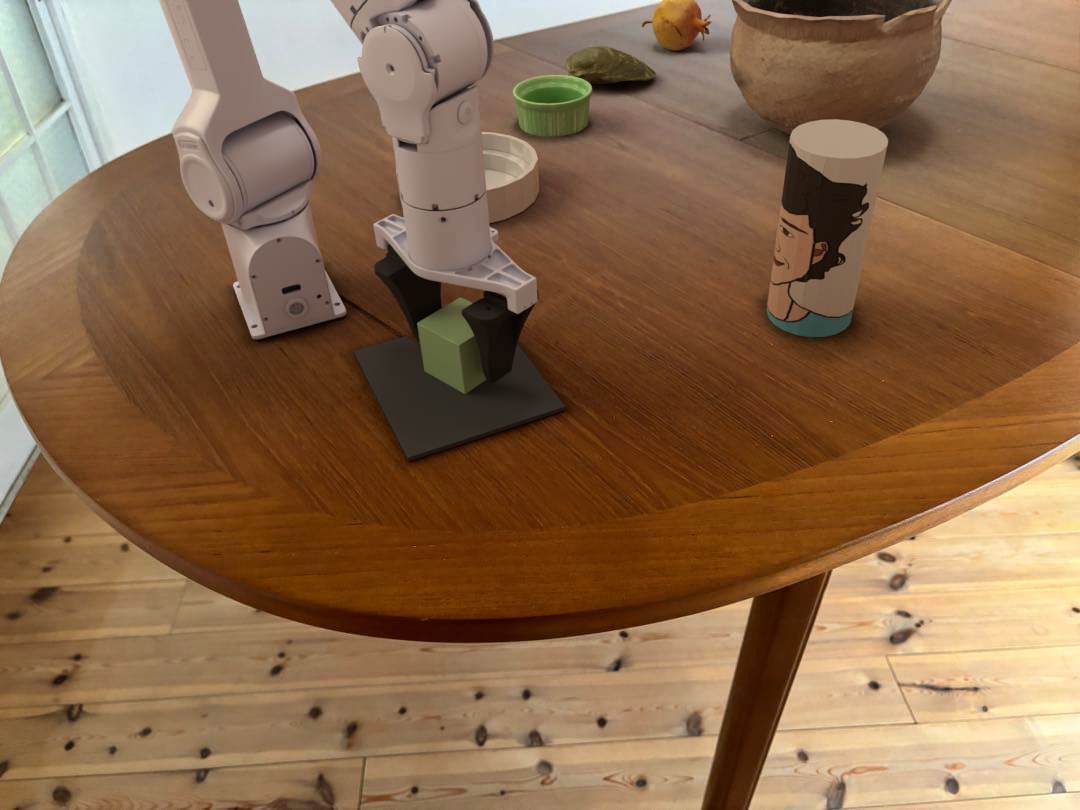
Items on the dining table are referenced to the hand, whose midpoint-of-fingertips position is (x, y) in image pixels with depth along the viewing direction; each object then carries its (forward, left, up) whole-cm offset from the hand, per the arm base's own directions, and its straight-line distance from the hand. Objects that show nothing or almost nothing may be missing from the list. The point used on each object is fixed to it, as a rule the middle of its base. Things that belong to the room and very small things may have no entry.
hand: (463, 355), depth 70 cm
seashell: (+48, -38, -2) cm, 62 cm away
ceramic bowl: (+24, -52, -2) cm, 57 cm away
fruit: (+55, -52, -2) cm, 76 cm away
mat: (-1, +1, -2) cm, 2 cm away
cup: (-6, -28, -2) cm, 29 cm away
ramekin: (+39, -26, -2) cm, 47 cm away
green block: (0, 0, -1) cm, 1 cm away
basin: (+27, -11, -2) cm, 30 cm away
